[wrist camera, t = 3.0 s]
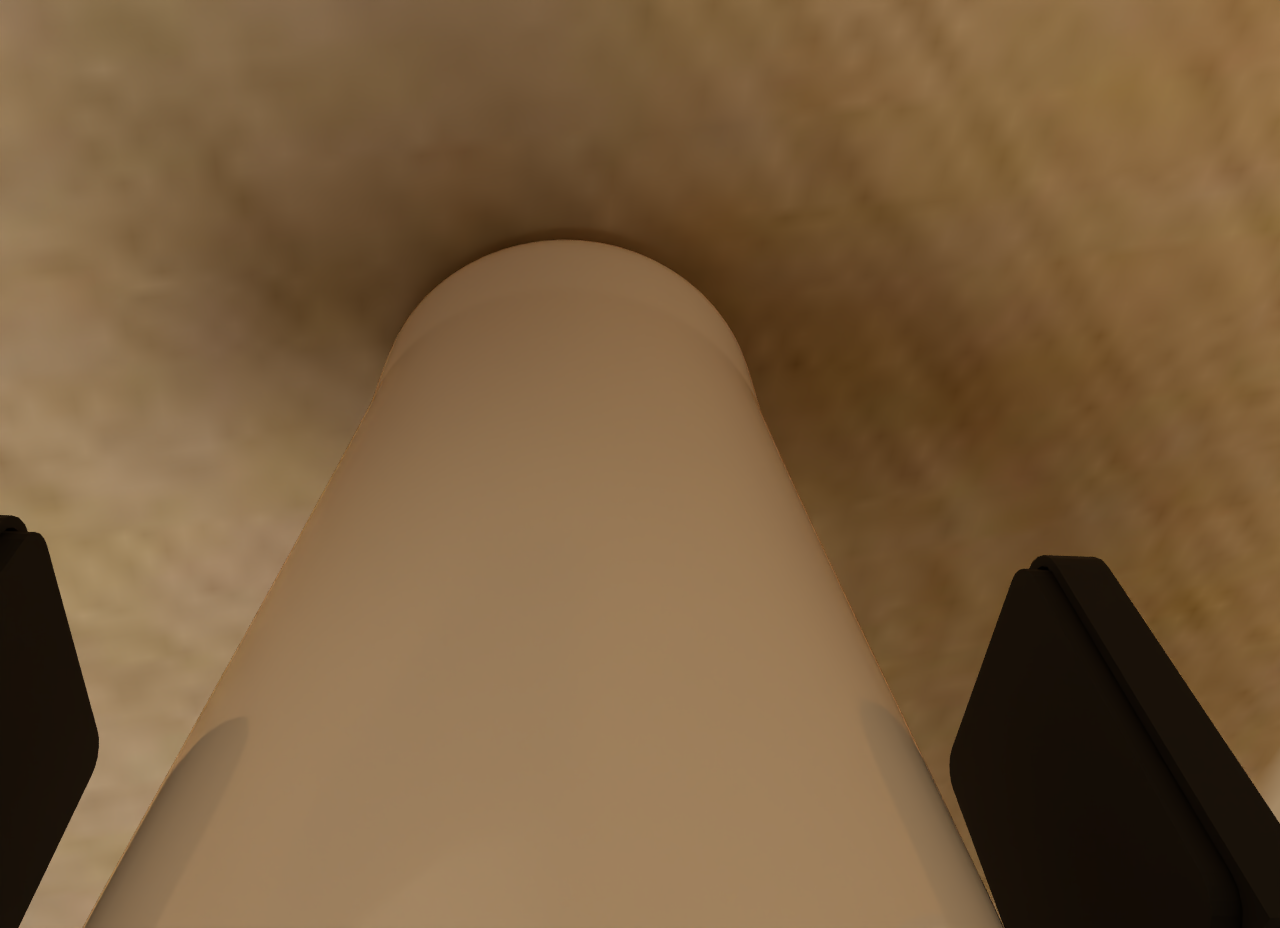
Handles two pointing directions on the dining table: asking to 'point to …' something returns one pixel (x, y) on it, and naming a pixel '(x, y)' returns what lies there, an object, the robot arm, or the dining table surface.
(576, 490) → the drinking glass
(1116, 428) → the dining table surface
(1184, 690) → the robot arm
